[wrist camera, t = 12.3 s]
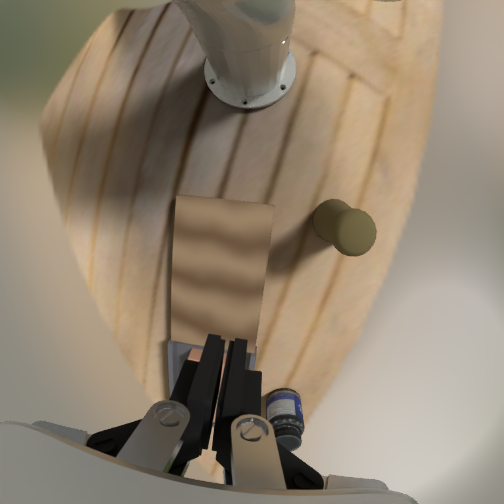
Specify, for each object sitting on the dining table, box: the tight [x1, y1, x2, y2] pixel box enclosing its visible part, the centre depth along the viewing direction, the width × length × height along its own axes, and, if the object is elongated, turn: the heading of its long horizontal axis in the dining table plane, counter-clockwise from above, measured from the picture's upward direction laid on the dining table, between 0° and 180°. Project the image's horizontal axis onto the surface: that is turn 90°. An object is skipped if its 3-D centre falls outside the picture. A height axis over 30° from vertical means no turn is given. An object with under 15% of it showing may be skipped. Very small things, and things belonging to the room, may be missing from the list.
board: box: [171, 195, 275, 353], centre depth 41 cm, size 22×13×2 cm, turn 173°
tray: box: [167, 338, 257, 427], centre depth 45 cm, size 18×14×3 cm
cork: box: [313, 199, 377, 256], centre depth 34 cm, size 6×6×11 cm
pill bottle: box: [266, 388, 304, 452], centre depth 41 cm, size 6×6×11 cm
